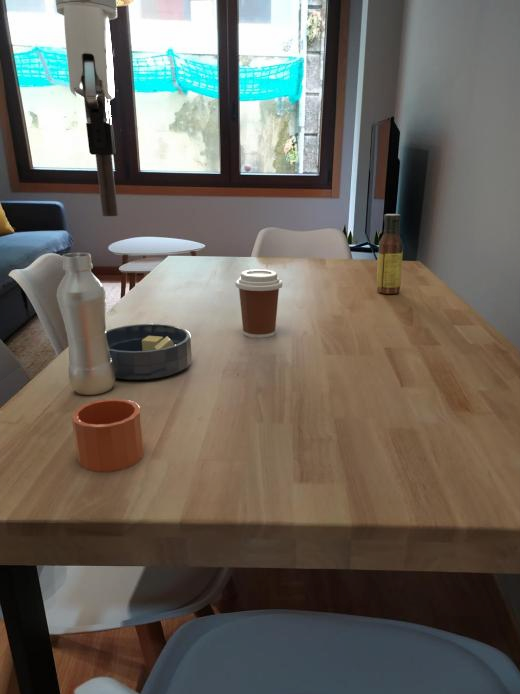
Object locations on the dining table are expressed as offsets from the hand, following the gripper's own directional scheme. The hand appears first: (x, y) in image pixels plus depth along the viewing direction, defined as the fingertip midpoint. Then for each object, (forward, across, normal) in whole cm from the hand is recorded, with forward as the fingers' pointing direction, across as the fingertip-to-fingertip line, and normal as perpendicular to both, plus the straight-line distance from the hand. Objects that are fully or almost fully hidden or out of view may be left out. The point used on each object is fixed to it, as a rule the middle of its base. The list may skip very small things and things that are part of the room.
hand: (102, 153), depth 78 cm
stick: (+9, 0, 0) cm, 9 cm away
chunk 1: (+31, -3, +4) cm, 31 cm away
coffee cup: (+33, -15, +25) cm, 44 cm away
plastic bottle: (+33, +10, -4) cm, 35 cm away
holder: (+33, +31, +1) cm, 45 cm away
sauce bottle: (+33, -46, +64) cm, 85 cm away
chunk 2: (+30, +2, +7) cm, 31 cm away
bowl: (+33, 0, +3) cm, 33 cm away
